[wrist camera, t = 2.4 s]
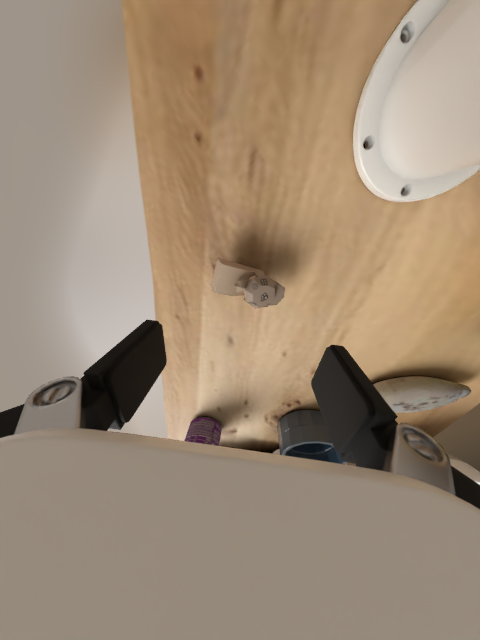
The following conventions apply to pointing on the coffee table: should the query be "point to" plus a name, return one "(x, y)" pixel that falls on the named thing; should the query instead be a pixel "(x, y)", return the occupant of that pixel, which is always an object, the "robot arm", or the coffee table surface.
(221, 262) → the toy character
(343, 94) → the coffee table surface
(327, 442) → the dark blue cup
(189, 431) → the beverage can
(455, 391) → the decorative stone
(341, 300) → the coffee table surface
